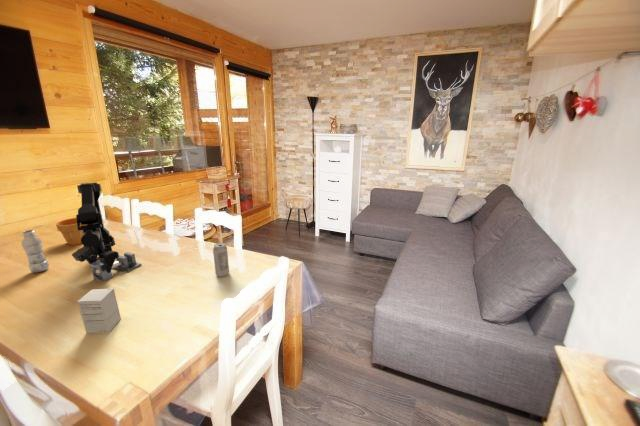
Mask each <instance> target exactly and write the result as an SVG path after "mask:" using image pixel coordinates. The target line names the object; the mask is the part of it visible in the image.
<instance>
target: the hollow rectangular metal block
mask: <svg viewBox="0 0 640 426" xmlns="http://www.w3.org/2000/svg"><path fill="white" fill-rule="evenodd" d="M89 266H90V269H91V272H92V273H91V274H92V277H93V280H97V281H101V282H106V281H109V280H110V279H112V278H114V277H113V273H112V271H111V272H110V273H107V271H106V269H105V266H104V264H103V263H101V262H100V260H99V259H97V261H96V262H93V263H91V264H89ZM97 268H98V269H99V270H100V274H101V275H99V276H97V275H96V274H95V270H97Z"/></svg>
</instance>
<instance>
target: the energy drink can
mask: <svg viewBox="0 0 640 426" xmlns="http://www.w3.org/2000/svg"><path fill="white" fill-rule="evenodd" d="M212 251H213V253H212V254H213V260H214V263H213V264H214V270H215V271H214V272H215V275H216V276H217V277H219V278H225V277H227V276H228V275H229V273H230V266H229V254H228V246H227V245H226V243H225V242H224V243H223V242H218V243H215V244H214V245H213V248H212Z"/></svg>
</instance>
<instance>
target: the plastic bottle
mask: <svg viewBox="0 0 640 426" xmlns="http://www.w3.org/2000/svg"><path fill="white" fill-rule="evenodd" d="M22 236H23V237H24V238H23V239H22V241H21V247H22V248H23V251H25V254H26V257H27V260H28V268H29V269H28V270H30V273H33V274H36V273H37V274H38V273H41V272H45V271H47V270H48V269H49V267H50V263H49V261H48V260H47V259H46V255H45V253H44V251H43V242H42V239H40V237H38V236H36V232H35V230H34V229H28V230H25V231H22Z"/></svg>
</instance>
